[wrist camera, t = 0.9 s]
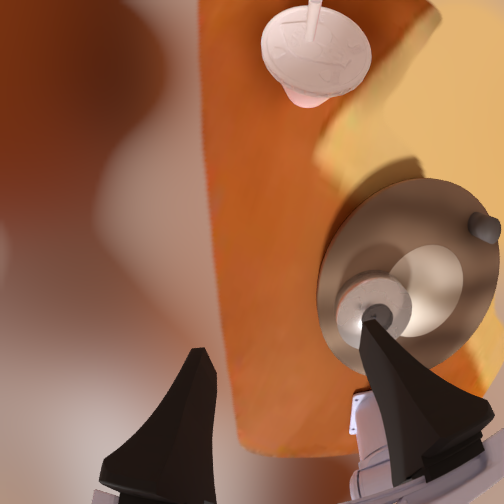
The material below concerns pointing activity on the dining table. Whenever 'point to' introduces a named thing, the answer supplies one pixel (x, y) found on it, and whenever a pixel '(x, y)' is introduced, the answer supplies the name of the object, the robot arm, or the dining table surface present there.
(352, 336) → the cover
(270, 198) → the dining table surface
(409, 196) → the turntable
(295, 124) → the dining table surface
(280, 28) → the smoothie
